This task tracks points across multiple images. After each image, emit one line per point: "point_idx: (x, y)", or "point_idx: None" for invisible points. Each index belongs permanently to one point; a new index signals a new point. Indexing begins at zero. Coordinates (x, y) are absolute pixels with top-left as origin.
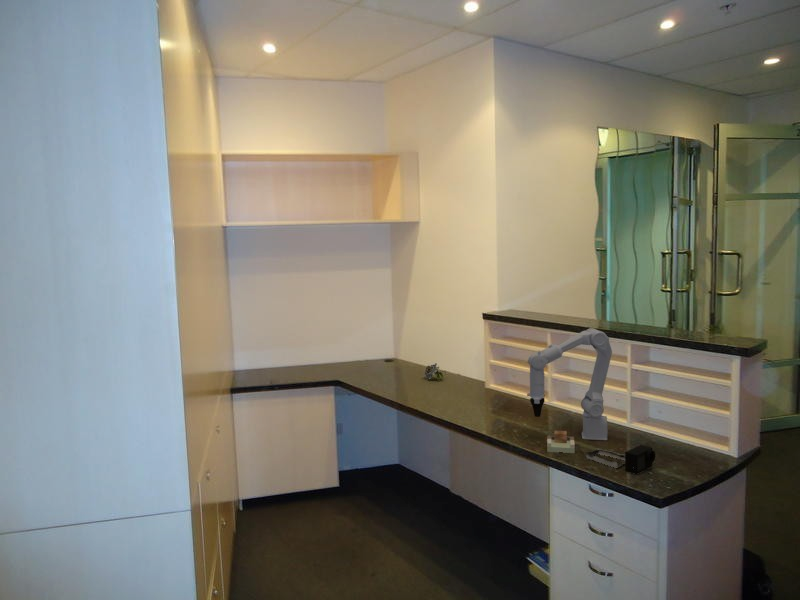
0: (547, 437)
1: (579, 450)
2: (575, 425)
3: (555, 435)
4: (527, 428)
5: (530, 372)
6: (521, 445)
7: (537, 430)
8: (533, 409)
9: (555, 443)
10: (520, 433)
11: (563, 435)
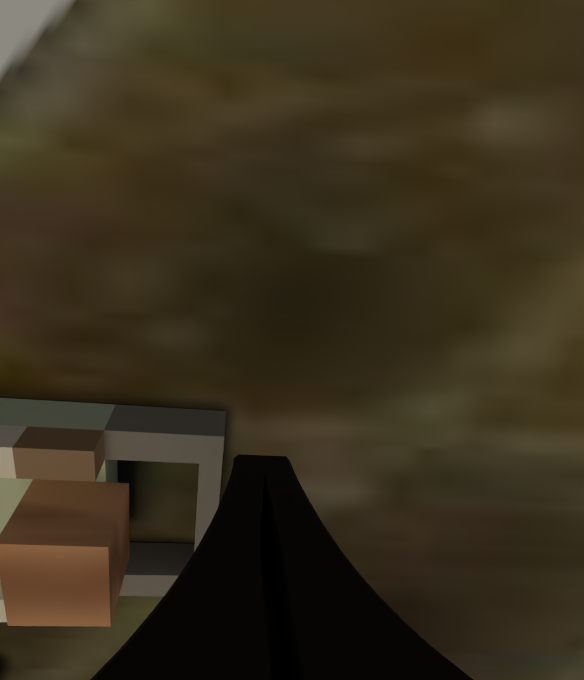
0: (51, 450)
1: None
2: (551, 585)
3: (4, 537)
4: (557, 261)
5: None
6: (35, 166)
7: (486, 346)
8: (204, 538)
9: (12, 483)
10: (417, 180)
11: (8, 596)
